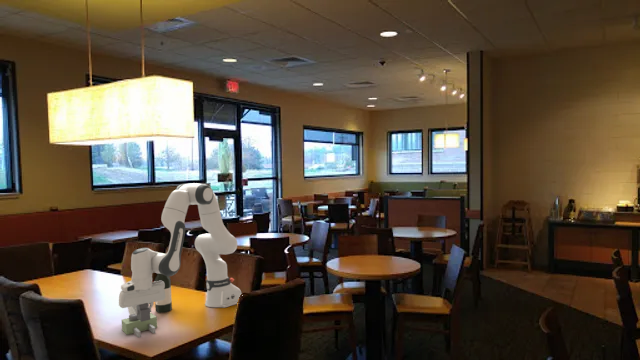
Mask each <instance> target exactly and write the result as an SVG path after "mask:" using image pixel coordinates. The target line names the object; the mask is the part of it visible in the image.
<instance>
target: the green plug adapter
mask: <svg viewBox="0 0 640 360" xmlns="http://www.w3.org/2000/svg"><path fill="white" fill-rule="evenodd" d="M156 328H158V318H157V316H156V315H155V314H153V313H152V312H150V320H147V321H142V322H141V321H140V320H139V319H137V315H135V314H131V315H130V314H129V315H128V318H123V319H121V330H122V332H123V333H125V335H126V336H128V335H132V334H134V335H135V336H136V337H137V338H141V332H143V331H148V330H149V331H150V333H151V334H156Z"/></svg>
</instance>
